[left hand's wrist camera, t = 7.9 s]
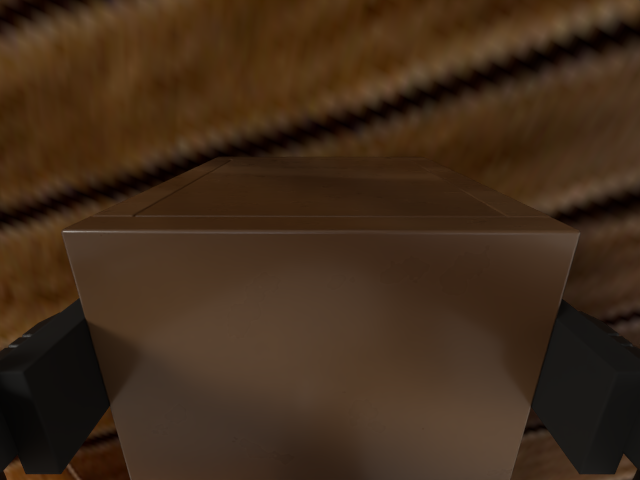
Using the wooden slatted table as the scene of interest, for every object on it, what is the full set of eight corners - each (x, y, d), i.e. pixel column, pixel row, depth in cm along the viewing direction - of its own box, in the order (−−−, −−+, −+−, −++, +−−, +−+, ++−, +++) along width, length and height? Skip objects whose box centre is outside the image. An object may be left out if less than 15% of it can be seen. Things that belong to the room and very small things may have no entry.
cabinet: (398, 402, 25) (463, 648, 13) (242, 401, 25) (176, 646, 13) (424, 157, 19) (583, 231, 7) (217, 156, 19) (58, 229, 7)
